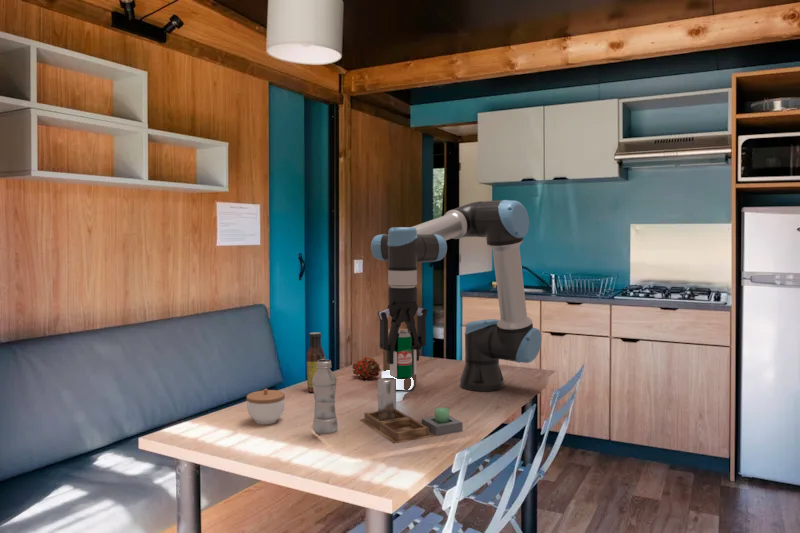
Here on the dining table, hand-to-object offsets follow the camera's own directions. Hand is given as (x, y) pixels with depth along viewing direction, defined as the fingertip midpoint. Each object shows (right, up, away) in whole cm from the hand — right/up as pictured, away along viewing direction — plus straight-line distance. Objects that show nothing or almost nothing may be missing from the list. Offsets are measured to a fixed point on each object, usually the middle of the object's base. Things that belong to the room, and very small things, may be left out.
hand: (403, 374), depth 161 cm
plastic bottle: (-21, -17, +4) cm, 27 cm away
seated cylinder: (-4, -15, +10) cm, 18 cm away
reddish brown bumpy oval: (-13, -13, +66) cm, 68 cm away
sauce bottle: (-29, -14, +49) cm, 59 cm away
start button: (+10, -13, +4) cm, 17 cm away
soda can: (0, -1, 0) cm, 1 cm away
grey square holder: (+10, -16, +4) cm, 20 cm away
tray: (-2, -16, +5) cm, 17 cm away
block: (-1, -14, +52) cm, 54 cm away
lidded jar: (-39, -16, +15) cm, 45 cm away
